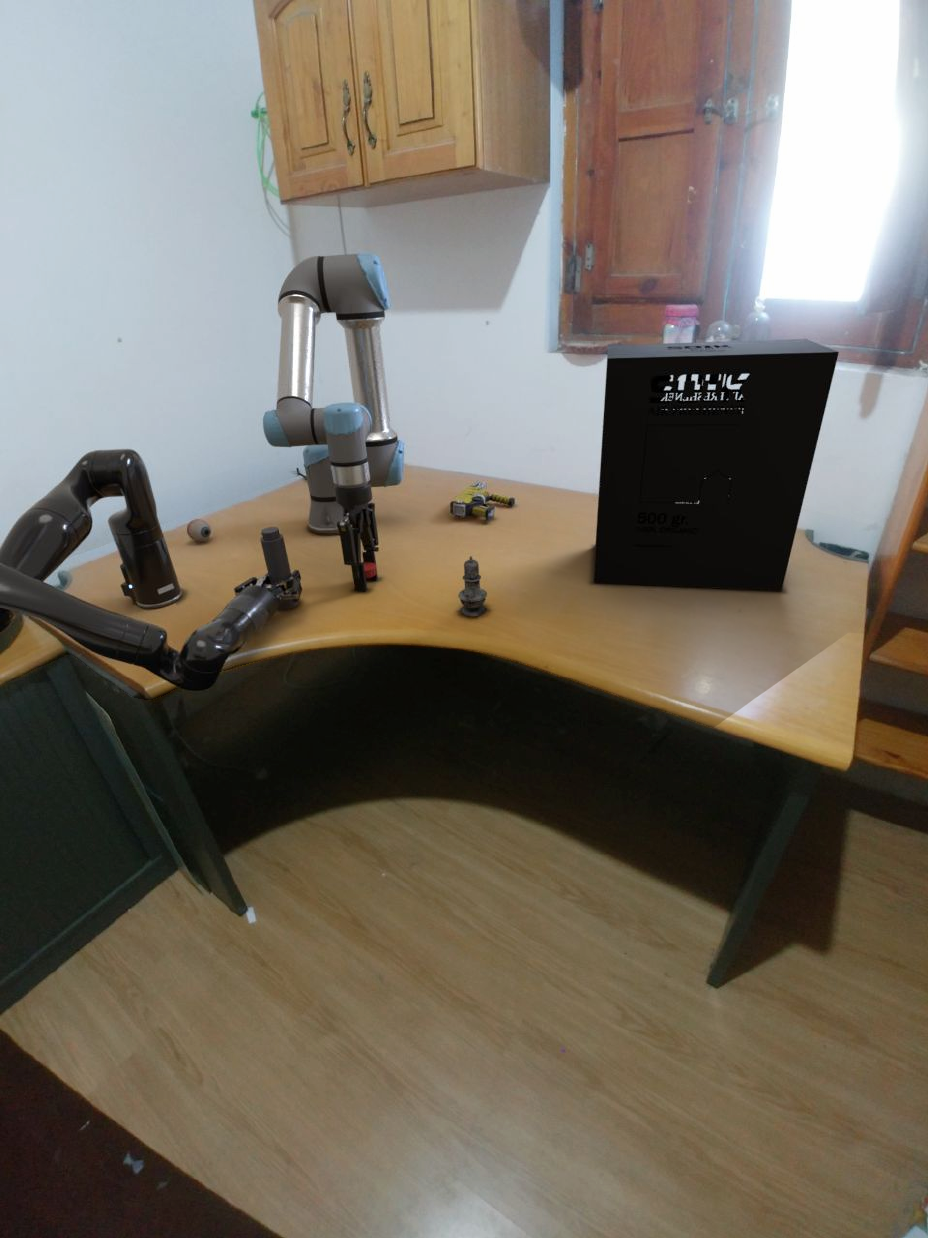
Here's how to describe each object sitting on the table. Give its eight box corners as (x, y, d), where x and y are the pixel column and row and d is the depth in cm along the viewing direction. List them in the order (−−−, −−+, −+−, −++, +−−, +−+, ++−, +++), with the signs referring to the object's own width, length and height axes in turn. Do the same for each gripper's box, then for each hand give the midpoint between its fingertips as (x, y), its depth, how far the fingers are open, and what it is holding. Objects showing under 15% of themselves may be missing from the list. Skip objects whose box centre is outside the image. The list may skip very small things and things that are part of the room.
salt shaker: (485, 617, 120) (483, 562, 114) (456, 616, 121) (452, 561, 115) (490, 603, 125) (488, 550, 119) (462, 602, 126) (459, 549, 120)
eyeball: (200, 546, 160) (194, 525, 157) (185, 542, 163) (179, 521, 160) (219, 538, 165) (213, 517, 162) (204, 535, 168) (198, 514, 165)
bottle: (278, 600, 131) (261, 526, 123) (299, 599, 131) (283, 524, 123) (274, 610, 127) (256, 534, 119) (295, 609, 128) (279, 533, 119)
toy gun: (523, 485, 181) (476, 478, 185) (501, 509, 161) (448, 500, 165) (521, 500, 184) (475, 493, 187) (499, 525, 163) (447, 517, 167)
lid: (374, 578, 132) (373, 571, 131) (351, 579, 132) (350, 571, 132) (378, 569, 136) (377, 561, 135) (356, 569, 137) (355, 561, 136)
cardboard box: (760, 550, 140) (805, 338, 118) (781, 591, 123) (838, 351, 101) (595, 545, 148) (608, 345, 125) (593, 582, 131) (607, 358, 108)
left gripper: (219, 628, 117) (259, 587, 132) (287, 631, 115) (321, 590, 129) (209, 593, 114) (252, 556, 128) (279, 596, 111) (315, 558, 126)
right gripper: (355, 470, 133) (368, 566, 144) (314, 495, 118) (332, 600, 129) (386, 471, 131) (397, 569, 142) (348, 497, 116) (364, 604, 127)
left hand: (286, 573), depth 129 cm, fingers closed on bottle, 4 cm apart
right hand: (366, 584), depth 136 cm, fingers closed on lid, 5 cm apart
